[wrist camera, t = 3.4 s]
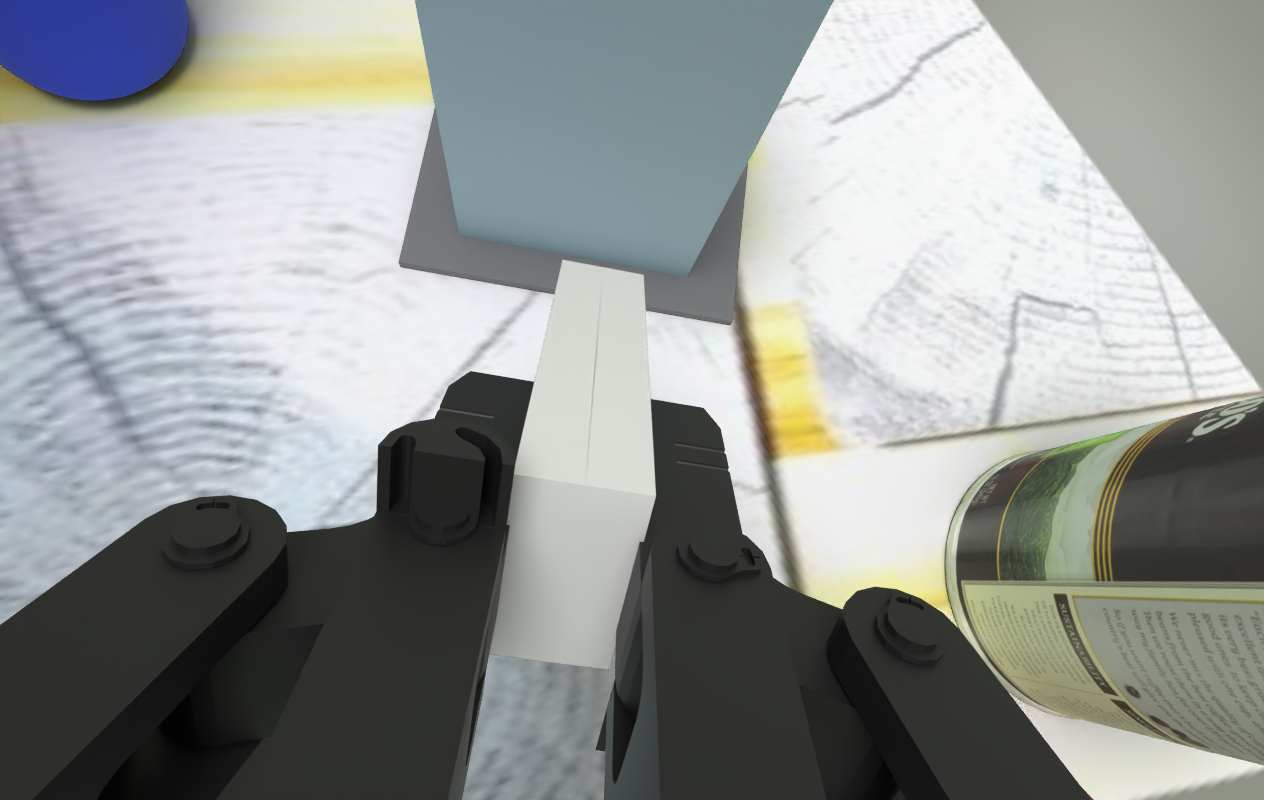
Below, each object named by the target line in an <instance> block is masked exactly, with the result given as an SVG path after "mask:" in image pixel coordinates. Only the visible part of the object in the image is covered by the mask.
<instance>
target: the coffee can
mask: <svg viewBox="0 0 1264 800" xmlns="http://www.w3.org/2000/svg"><path fill="white" fill-rule="evenodd" d="M945 570H946V584H947V591H948V596H949V600H950V603H951V606H952V610H953V613H954V616H955V619H956V621H957V624H958V626H959V628H960V631H961V632H962V633H963V634H964V636H965V637H966V638H967V640H968V641H969V642H970V644H971V645H972V646H973V647H974V649H975V650H976V651H977V653H978V654H979V655H980V656H981V658H982V659H983V660H984V662H985V663H986V664H987V666H988V667H989V668H990V669H991V671H992V672H993V673H994V675H995V676H996V677H997V679H998V680H999V681H1000V682H1001V684H1002V685H1003V686H1004V688H1005V689H1006V690H1007V691H1009V692H1010V693H1012V694H1013V695H1015V696H1016V697H1018V698H1019V699H1020V700H1022V701H1024V702H1025V703H1027V704H1029V705H1031V706H1033V707H1035V708H1038V709H1040V710H1042V711H1044V712H1046V713H1050V714H1053V715H1057V716H1061V717H1066V718H1071V719H1083V720H1087V721H1091V722H1094V723H1098V724H1102V725H1106V726H1110V727H1114V728H1118V729H1122V730H1126V731H1130V732H1134V733H1138V734H1142V735H1146V736H1150V737H1154V738H1158V739H1162V740H1166V741H1170V742H1174V743H1177V744H1181V745H1185V746H1189V747H1193V748H1196V749H1200V750H1203V751H1207V752H1212V753H1217V754H1221V755H1225V756H1229V757H1233V758H1237V759H1241V760H1245V761H1249V762H1253V763H1257V764H1261V765H1264V395H1263V396H1259V397H1255V398H1251V399H1247V400H1244V401H1239V402H1234V403H1231V404H1227V405H1223V406H1219V407H1215V408H1212V409H1209V410H1204V411H1200V412H1196V413H1192V414H1189V415H1185V416H1181V417H1177V418H1173V419H1169V420H1165V421H1161V422H1157V423H1153V424H1149V425H1145V426H1141V427H1137V428H1133V429H1129V430H1125V431H1121V432H1117V433H1113V434H1110V435H1106V436H1102V437H1098V438H1094V439H1089V440H1085V441H1081V442H1077V443H1073V444H1069V445H1065V446H1061V447H1057V448H1053V449H1049V450H1045V451H1035V452H1029V453H1025V454H1021V455H1018V456H1014V457H1011V458H1009V459H1007V460H1005V461H1003V462H1001V463H999V464H997V465H996V466H994V467H993V468H991V469H990V470H989V471H987V472H986V473H985V474H984V475H982V476H981V477H980V478H979V479H978V480H977V481H976V482H975V483H974V484H973V485H972V486H971V487H970V489H969V490H968V491H967V493H966V494H965V496H964V497H963V499H962V501H961V503H960V505H959V507H958V509H957V511H956V513H955V515H954V518H953V521H952V524H951V527H950V531H949V535H948V540H947V547H946V557H945Z"/></svg>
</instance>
